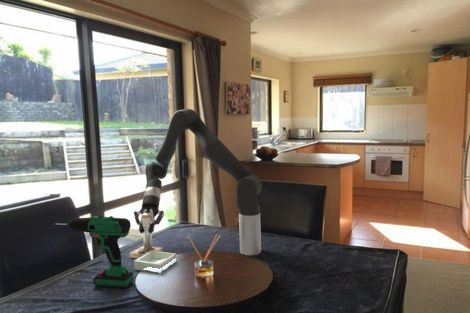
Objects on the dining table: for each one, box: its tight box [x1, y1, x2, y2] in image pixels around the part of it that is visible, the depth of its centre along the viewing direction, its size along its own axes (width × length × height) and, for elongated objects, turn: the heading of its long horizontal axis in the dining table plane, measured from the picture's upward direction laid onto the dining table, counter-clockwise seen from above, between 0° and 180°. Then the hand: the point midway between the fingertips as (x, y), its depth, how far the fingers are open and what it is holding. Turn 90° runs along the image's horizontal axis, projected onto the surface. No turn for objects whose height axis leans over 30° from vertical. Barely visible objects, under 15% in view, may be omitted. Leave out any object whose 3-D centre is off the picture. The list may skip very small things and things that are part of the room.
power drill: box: [54, 215, 134, 289], centre depth 132 cm, size 6×29×25 cm, turn 78°
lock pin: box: [141, 213, 153, 249], centre depth 160 cm, size 4×4×15 cm
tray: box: [133, 251, 177, 271], centre depth 148 cm, size 12×12×4 cm
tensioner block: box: [129, 245, 164, 259], centre depth 160 cm, size 10×10×3 cm
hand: (145, 232), depth 158 cm, fingers closed on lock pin, 3 cm apart
